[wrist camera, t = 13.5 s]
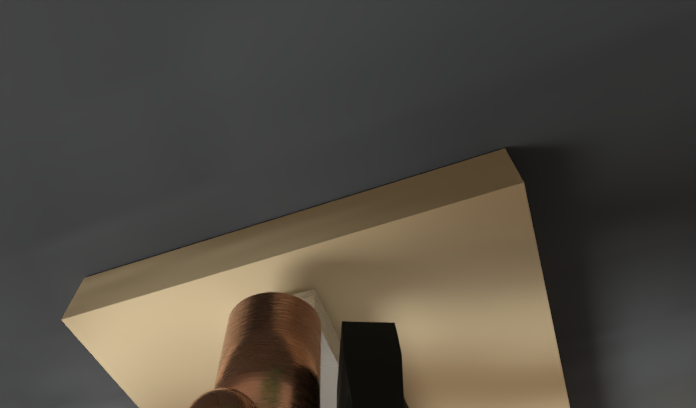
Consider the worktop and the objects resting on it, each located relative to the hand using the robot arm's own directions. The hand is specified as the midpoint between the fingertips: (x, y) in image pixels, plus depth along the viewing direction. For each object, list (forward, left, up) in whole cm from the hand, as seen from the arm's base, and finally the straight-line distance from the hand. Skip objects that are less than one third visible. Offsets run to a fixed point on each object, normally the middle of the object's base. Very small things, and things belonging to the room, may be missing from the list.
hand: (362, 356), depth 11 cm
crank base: (-5, +1, -4) cm, 6 cm away
